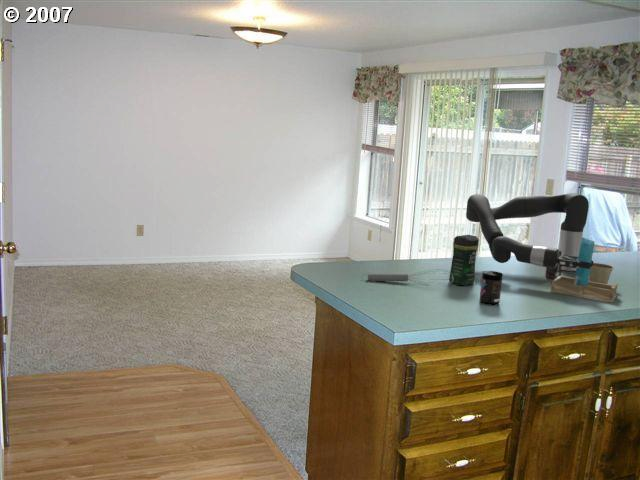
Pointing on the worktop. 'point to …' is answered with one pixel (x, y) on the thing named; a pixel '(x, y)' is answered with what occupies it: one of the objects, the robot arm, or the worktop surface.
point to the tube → (584, 256)
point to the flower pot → (600, 273)
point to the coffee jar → (464, 260)
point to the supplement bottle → (554, 271)
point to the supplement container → (491, 287)
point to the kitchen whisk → (400, 277)
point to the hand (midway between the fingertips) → (591, 264)
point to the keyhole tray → (584, 289)
